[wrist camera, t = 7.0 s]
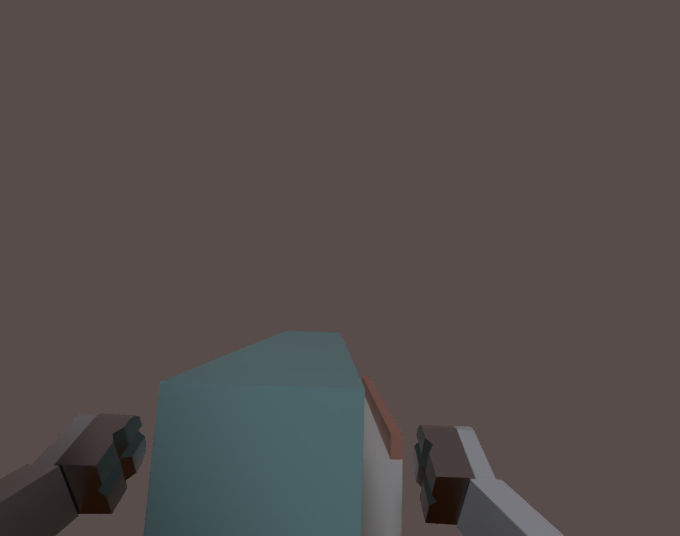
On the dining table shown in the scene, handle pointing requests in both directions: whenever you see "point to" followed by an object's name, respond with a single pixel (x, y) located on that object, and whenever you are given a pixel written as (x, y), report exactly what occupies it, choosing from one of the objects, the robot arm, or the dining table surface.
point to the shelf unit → (380, 468)
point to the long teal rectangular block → (261, 443)
